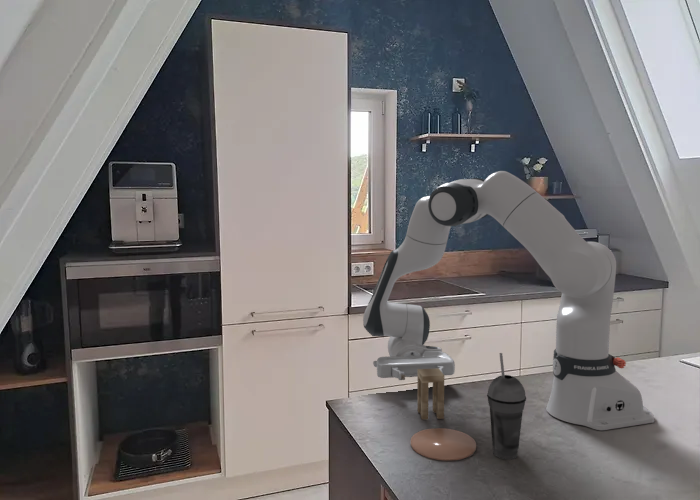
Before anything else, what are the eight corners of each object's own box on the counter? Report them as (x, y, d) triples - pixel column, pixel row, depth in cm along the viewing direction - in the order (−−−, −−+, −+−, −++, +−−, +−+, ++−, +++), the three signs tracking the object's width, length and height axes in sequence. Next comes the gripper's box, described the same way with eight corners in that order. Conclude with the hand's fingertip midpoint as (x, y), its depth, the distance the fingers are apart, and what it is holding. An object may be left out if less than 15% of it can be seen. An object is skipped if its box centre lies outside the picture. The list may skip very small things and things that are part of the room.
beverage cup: (527, 464, 102) (529, 360, 100) (486, 461, 103) (488, 358, 101) (522, 446, 109) (525, 349, 107) (485, 443, 110) (486, 347, 108)
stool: (438, 409, 128) (438, 368, 127) (443, 418, 123) (444, 375, 122) (417, 410, 127) (417, 369, 126) (422, 419, 122) (422, 376, 121)
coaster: (464, 429, 117) (465, 426, 117) (485, 458, 104) (485, 455, 104) (405, 432, 116) (405, 429, 116) (418, 462, 103) (418, 459, 103)
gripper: (372, 349, 147) (379, 365, 134) (446, 346, 149) (460, 362, 135) (372, 372, 148) (379, 390, 134) (446, 369, 150) (460, 386, 136)
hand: (421, 376), depth 135 cm, fingers open, 8 cm apart
